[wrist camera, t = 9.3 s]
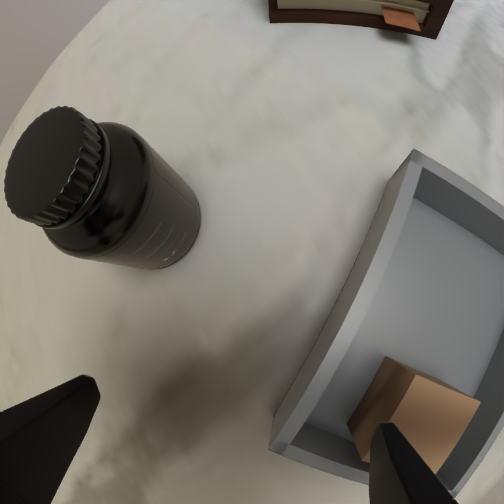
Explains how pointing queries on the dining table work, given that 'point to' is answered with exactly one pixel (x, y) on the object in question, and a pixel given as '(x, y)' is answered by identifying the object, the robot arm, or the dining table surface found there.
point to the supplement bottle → (100, 192)
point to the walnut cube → (413, 412)
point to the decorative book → (366, 14)
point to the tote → (409, 322)
